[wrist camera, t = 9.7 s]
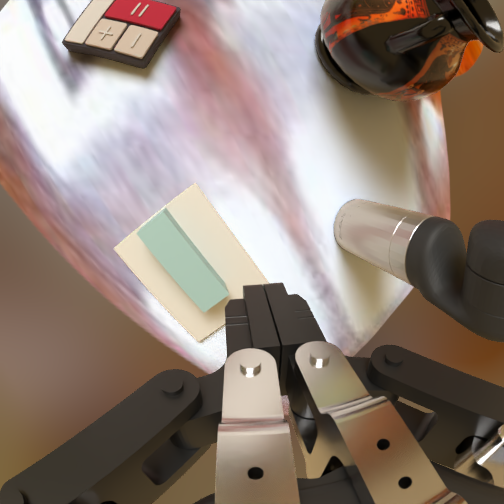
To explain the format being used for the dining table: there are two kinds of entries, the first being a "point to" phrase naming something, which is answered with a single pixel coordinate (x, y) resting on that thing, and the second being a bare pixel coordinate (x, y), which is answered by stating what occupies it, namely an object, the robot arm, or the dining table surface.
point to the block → (183, 260)
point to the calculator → (122, 30)
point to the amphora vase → (402, 43)
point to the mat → (211, 247)
